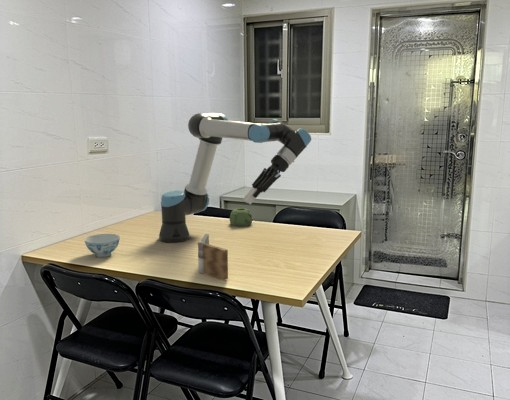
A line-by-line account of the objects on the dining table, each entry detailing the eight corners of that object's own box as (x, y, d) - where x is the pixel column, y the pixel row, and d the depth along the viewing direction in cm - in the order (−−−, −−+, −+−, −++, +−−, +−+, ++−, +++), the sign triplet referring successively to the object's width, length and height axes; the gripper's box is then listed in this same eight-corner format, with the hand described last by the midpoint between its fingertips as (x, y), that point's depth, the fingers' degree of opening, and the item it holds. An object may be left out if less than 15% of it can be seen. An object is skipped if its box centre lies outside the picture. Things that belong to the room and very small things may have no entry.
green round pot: (236, 220, 273) (236, 206, 272) (256, 222, 268) (256, 208, 266) (222, 226, 259) (222, 211, 258) (243, 229, 253) (243, 213, 252)
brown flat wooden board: (197, 270, 187) (196, 242, 185) (202, 269, 189) (202, 241, 187) (223, 280, 177) (223, 250, 175) (229, 278, 179) (228, 248, 177)
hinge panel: (203, 260, 201) (203, 233, 198) (210, 261, 201) (210, 233, 198) (198, 273, 186) (197, 244, 183) (205, 273, 186) (204, 244, 183)
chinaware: (84, 252, 213) (83, 235, 212) (118, 248, 219) (117, 232, 218) (86, 261, 200) (85, 244, 198) (123, 257, 206) (122, 240, 204)
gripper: (297, 168, 192) (259, 211, 189) (280, 164, 206) (245, 203, 203) (285, 155, 189) (247, 199, 186) (269, 152, 203) (233, 192, 200)
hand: (246, 201), depth 195 cm, fingers open, 3 cm apart
